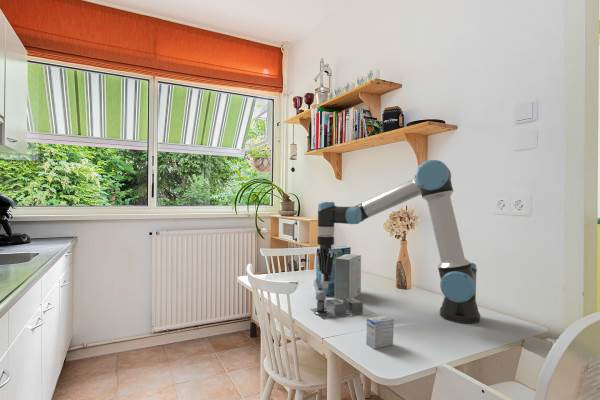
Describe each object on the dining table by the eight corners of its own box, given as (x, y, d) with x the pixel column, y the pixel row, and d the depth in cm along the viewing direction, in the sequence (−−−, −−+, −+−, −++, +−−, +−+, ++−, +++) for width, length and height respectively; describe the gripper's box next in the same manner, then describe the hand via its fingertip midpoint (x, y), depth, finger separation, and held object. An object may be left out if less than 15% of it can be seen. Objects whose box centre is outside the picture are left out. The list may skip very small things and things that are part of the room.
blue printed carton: (343, 288, 187) (344, 245, 187) (350, 291, 183) (351, 247, 183) (315, 293, 176) (316, 248, 176) (321, 296, 172) (322, 249, 172)
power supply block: (345, 314, 144) (346, 303, 144) (334, 315, 142) (335, 304, 142) (336, 308, 151) (336, 298, 151) (326, 309, 149) (326, 299, 149)
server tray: (375, 315, 146) (376, 300, 146) (322, 321, 136) (322, 305, 136) (358, 305, 159) (358, 291, 159) (307, 310, 149) (308, 296, 149)
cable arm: (326, 300, 142) (326, 291, 142) (316, 300, 142) (316, 291, 142) (321, 285, 167) (321, 277, 167) (312, 285, 166) (312, 277, 166)
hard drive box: (346, 292, 180) (347, 253, 180) (361, 294, 176) (361, 255, 176) (333, 299, 167) (334, 257, 167) (348, 302, 163) (349, 259, 163)
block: (362, 312, 147) (362, 302, 147) (352, 313, 145) (352, 303, 145) (352, 306, 154) (353, 297, 154) (342, 307, 152) (343, 298, 152)
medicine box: (384, 340, 119) (384, 315, 119) (393, 345, 115) (394, 319, 115) (365, 344, 116) (366, 318, 116) (374, 349, 112) (375, 322, 112)
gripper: (340, 237, 154) (339, 290, 154) (326, 234, 166) (326, 284, 166) (324, 237, 152) (323, 292, 152) (312, 234, 164) (311, 285, 164)
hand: (324, 287), depth 159 cm, fingers closed
